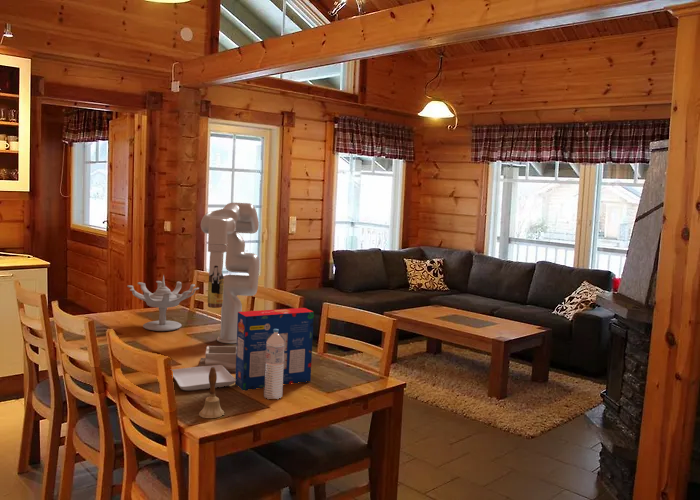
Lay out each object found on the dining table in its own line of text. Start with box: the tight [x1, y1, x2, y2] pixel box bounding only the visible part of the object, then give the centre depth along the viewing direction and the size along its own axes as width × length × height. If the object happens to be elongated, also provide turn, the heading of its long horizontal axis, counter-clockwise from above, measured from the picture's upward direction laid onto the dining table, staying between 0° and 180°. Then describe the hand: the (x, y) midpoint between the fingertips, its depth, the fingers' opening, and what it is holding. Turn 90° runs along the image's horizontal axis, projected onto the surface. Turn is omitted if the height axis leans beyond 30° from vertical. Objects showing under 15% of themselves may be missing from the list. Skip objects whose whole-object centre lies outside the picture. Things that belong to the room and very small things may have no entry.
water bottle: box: [263, 329, 285, 400], centre depth 229 cm, size 7×7×25 cm
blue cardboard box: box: [234, 307, 315, 391], centre depth 244 cm, size 28×8×28 cm, turn 121°
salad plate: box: [171, 365, 236, 391], centre depth 242 cm, size 21×21×3 cm
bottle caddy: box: [198, 345, 237, 374], centre depth 263 cm, size 18×18×7 cm
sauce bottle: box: [207, 273, 224, 309], centre depth 262 cm, size 7×6×20 cm
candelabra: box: [127, 274, 200, 332], centre depth 320 cm, size 34×35×27 cm
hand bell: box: [198, 367, 225, 419], centre depth 210 cm, size 8×8×16 cm
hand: (215, 291), depth 262 cm, fingers closed on sauce bottle, 6 cm apart
